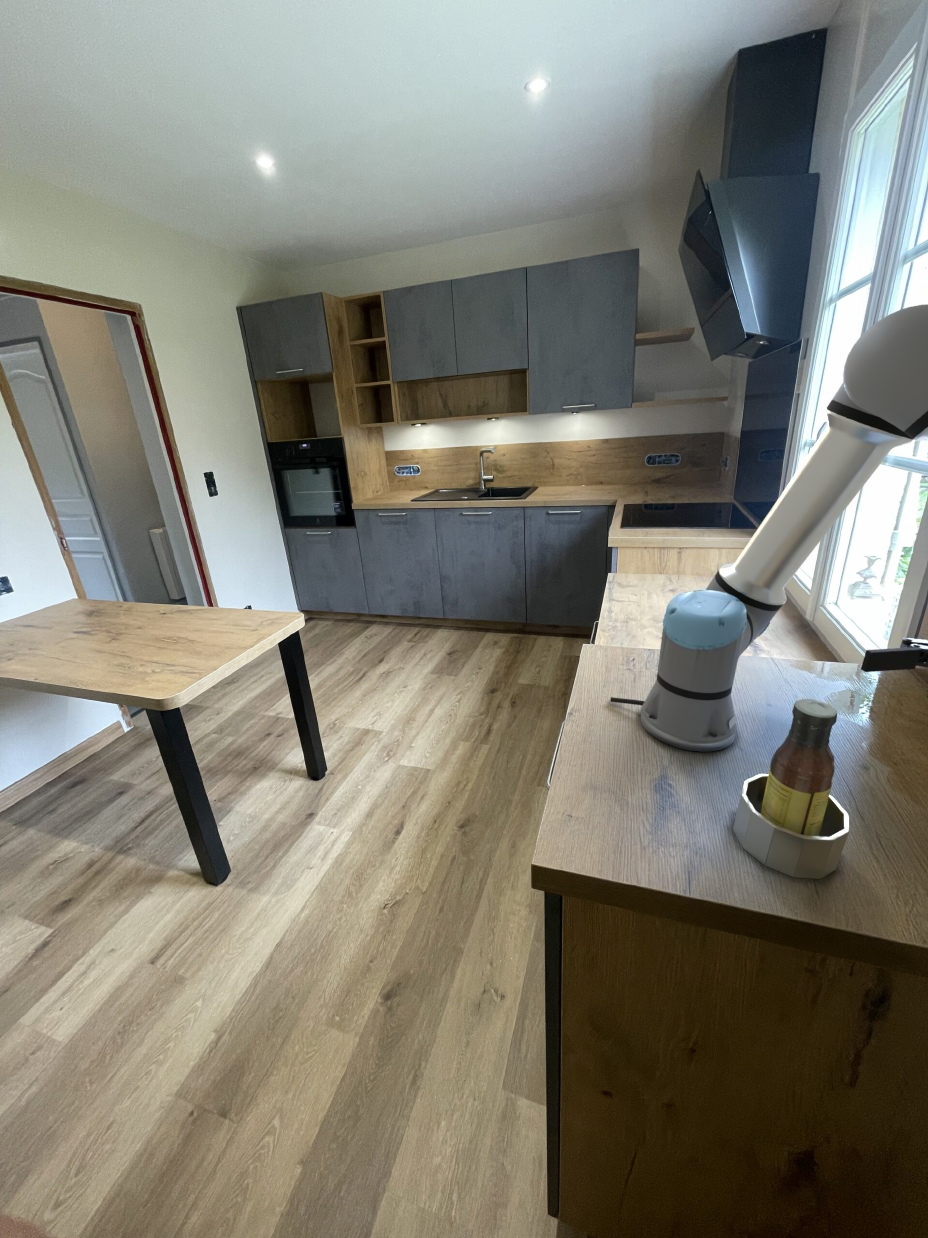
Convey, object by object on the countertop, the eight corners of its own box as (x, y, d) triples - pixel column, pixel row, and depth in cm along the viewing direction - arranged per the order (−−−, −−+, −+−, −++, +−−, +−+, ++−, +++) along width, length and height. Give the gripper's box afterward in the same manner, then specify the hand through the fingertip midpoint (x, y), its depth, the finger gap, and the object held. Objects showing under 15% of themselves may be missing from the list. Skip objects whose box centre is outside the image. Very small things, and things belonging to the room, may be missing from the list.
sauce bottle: (801, 826, 64) (840, 695, 56) (823, 865, 58) (869, 725, 51) (747, 819, 65) (778, 690, 58) (762, 856, 60) (798, 719, 52)
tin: (727, 850, 61) (736, 813, 58) (740, 798, 69) (748, 763, 67) (836, 895, 55) (850, 855, 52) (836, 831, 63) (848, 795, 61)
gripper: (1247, 776, 45) (1031, 792, 44) (969, 658, 68) (824, 667, 67) (1295, 706, 42) (1066, 722, 41) (989, 608, 65) (838, 616, 64)
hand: (916, 688), depth 54 cm, fingers open, 13 cm apart
